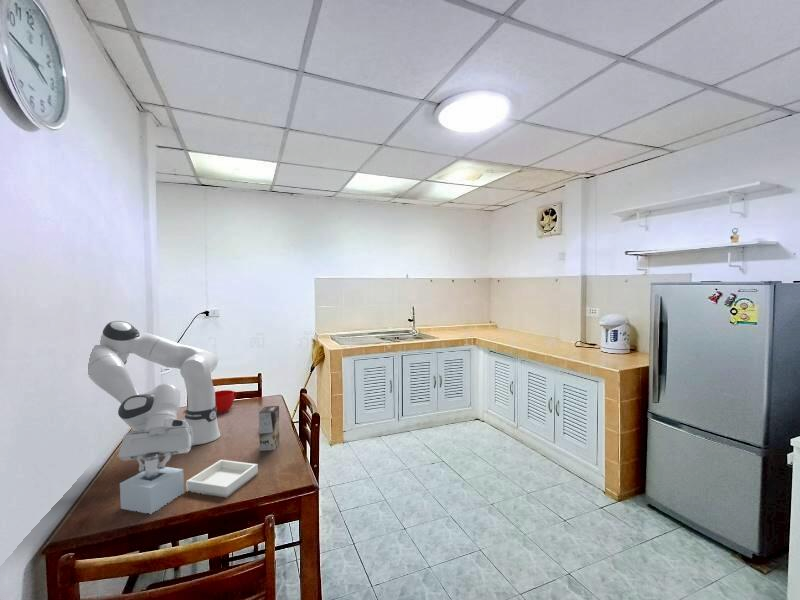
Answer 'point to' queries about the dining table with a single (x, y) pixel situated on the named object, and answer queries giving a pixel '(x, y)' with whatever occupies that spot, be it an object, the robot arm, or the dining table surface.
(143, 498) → the socket block
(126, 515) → the dining table surface
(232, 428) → the dining table surface
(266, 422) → the coffee box
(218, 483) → the tray
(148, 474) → the steel pin
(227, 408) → the ceramic cup
